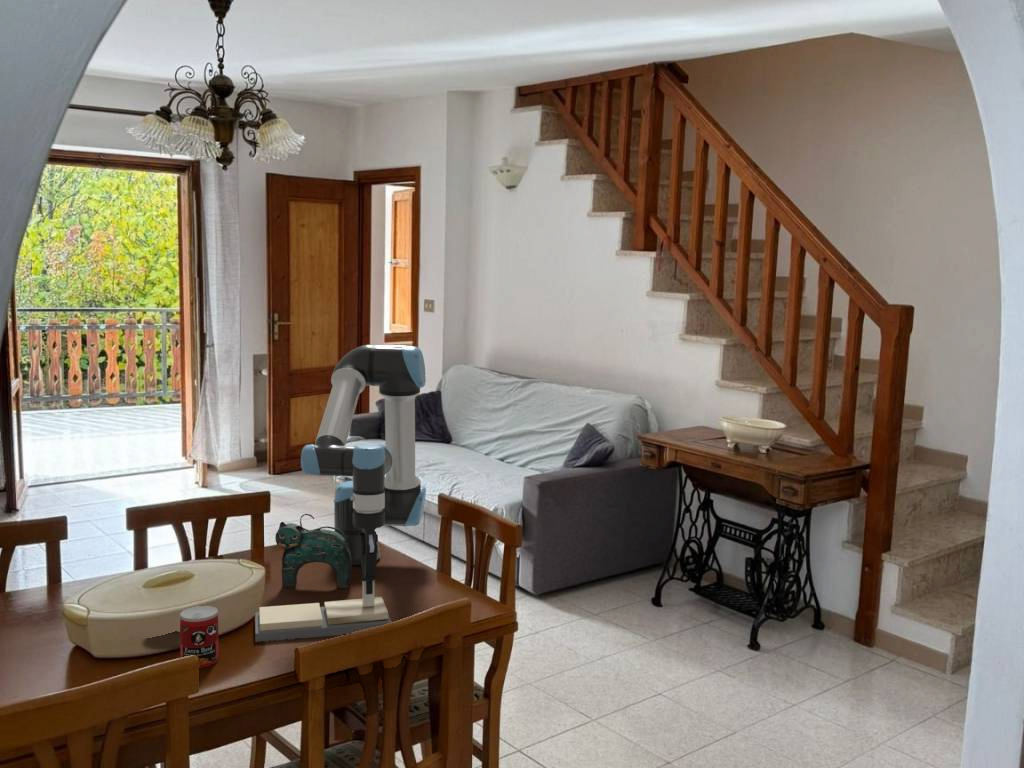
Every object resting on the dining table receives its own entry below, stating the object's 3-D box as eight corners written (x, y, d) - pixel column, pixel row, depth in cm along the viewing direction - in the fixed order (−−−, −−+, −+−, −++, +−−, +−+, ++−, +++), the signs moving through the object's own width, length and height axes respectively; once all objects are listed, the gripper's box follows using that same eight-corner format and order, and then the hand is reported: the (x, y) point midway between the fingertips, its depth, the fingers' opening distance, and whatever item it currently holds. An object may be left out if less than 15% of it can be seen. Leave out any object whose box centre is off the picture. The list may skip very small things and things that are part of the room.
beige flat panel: (324, 608, 217) (324, 601, 217) (381, 602, 221) (381, 596, 221) (328, 624, 207) (328, 618, 207) (388, 618, 211) (388, 612, 210)
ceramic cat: (274, 589, 236) (274, 515, 234) (280, 581, 242) (279, 509, 240) (349, 590, 237) (350, 516, 235) (353, 582, 243) (353, 510, 241)
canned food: (179, 671, 185) (178, 620, 184) (182, 655, 193) (181, 606, 192) (217, 667, 187) (217, 617, 186) (219, 652, 195) (218, 604, 194)
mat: (255, 619, 214) (255, 605, 214) (383, 609, 223) (383, 595, 223) (255, 642, 201) (255, 626, 201) (392, 630, 210) (392, 616, 209)
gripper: (349, 504, 217) (349, 597, 219) (355, 517, 205) (355, 616, 207) (380, 502, 219) (380, 595, 222) (388, 515, 207) (387, 613, 209)
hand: (368, 605), depth 214 cm, fingers closed
